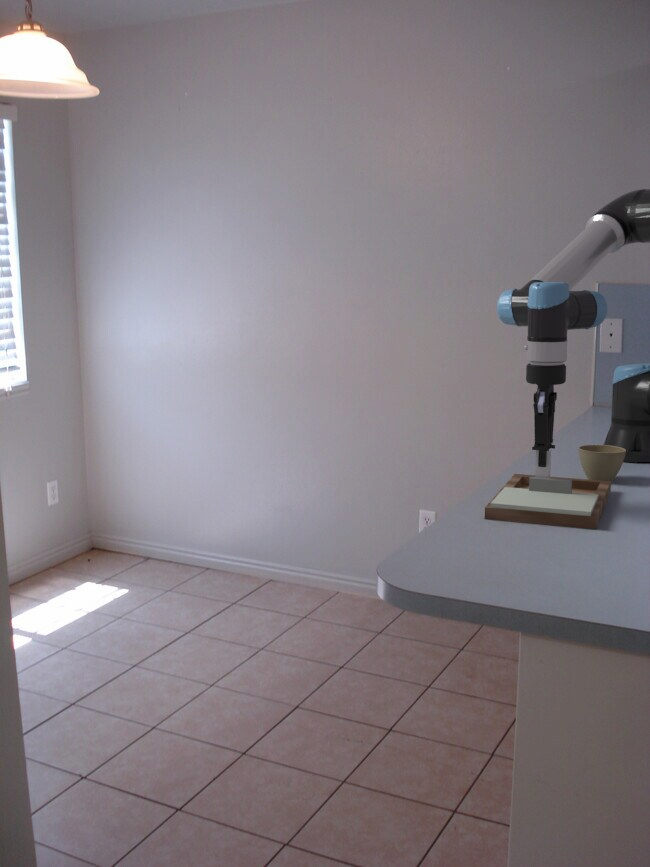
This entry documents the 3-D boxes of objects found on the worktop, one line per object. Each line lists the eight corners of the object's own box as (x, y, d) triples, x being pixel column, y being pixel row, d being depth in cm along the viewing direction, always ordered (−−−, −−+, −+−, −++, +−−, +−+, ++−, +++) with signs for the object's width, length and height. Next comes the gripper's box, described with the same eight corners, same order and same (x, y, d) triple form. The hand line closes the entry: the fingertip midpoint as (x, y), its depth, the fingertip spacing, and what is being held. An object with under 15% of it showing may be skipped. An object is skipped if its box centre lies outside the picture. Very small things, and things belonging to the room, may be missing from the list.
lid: (504, 490, 189) (505, 474, 188) (598, 498, 182) (598, 481, 182) (490, 507, 176) (491, 490, 175) (590, 516, 170) (591, 498, 169)
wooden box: (514, 483, 205) (514, 473, 205) (610, 491, 198) (610, 481, 197) (484, 518, 177) (484, 507, 176) (595, 529, 169) (596, 517, 169)
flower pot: (626, 486, 202) (628, 453, 201) (578, 484, 204) (579, 451, 203) (621, 476, 212) (623, 445, 211) (575, 474, 214) (577, 443, 213)
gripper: (532, 358, 190) (528, 473, 194) (520, 365, 178) (517, 487, 182) (570, 359, 187) (566, 476, 192) (561, 367, 176) (557, 490, 180)
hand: (542, 481), depth 187 cm, fingers closed
